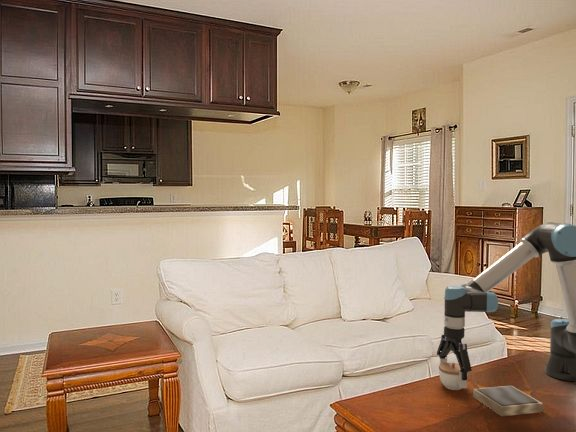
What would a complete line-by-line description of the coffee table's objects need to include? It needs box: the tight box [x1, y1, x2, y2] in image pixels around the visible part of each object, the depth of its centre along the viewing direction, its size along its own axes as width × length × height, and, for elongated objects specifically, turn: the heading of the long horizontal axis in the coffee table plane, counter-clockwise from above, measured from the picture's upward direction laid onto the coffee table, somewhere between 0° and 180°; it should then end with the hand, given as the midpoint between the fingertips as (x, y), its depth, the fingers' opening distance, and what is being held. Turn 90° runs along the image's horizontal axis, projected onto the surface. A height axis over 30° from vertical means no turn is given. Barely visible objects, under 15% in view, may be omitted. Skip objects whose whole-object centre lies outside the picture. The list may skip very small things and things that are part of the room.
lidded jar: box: [438, 362, 469, 391], centre depth 186 cm, size 11×11×9 cm
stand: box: [472, 385, 544, 417], centre depth 171 cm, size 16×16×3 cm
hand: (452, 381), depth 186 cm, fingers open, 13 cm apart
